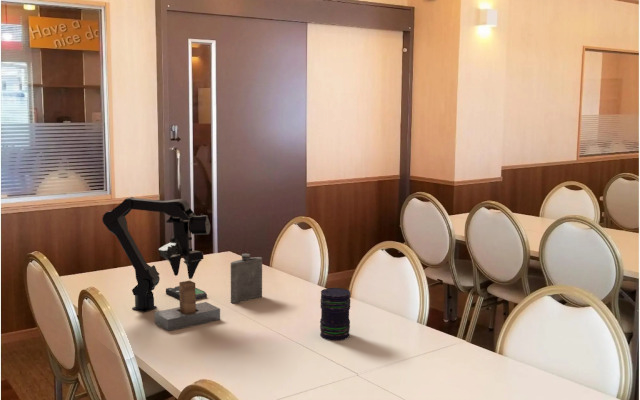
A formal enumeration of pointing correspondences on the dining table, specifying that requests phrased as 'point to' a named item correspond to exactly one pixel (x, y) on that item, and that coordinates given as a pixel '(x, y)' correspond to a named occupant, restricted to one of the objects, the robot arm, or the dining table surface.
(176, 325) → the rail block
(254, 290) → the flask
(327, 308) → the storage jar
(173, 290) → the disk drive
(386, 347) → the dining table surface
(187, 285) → the walnut peg
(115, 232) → the robot arm
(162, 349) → the dining table surface
